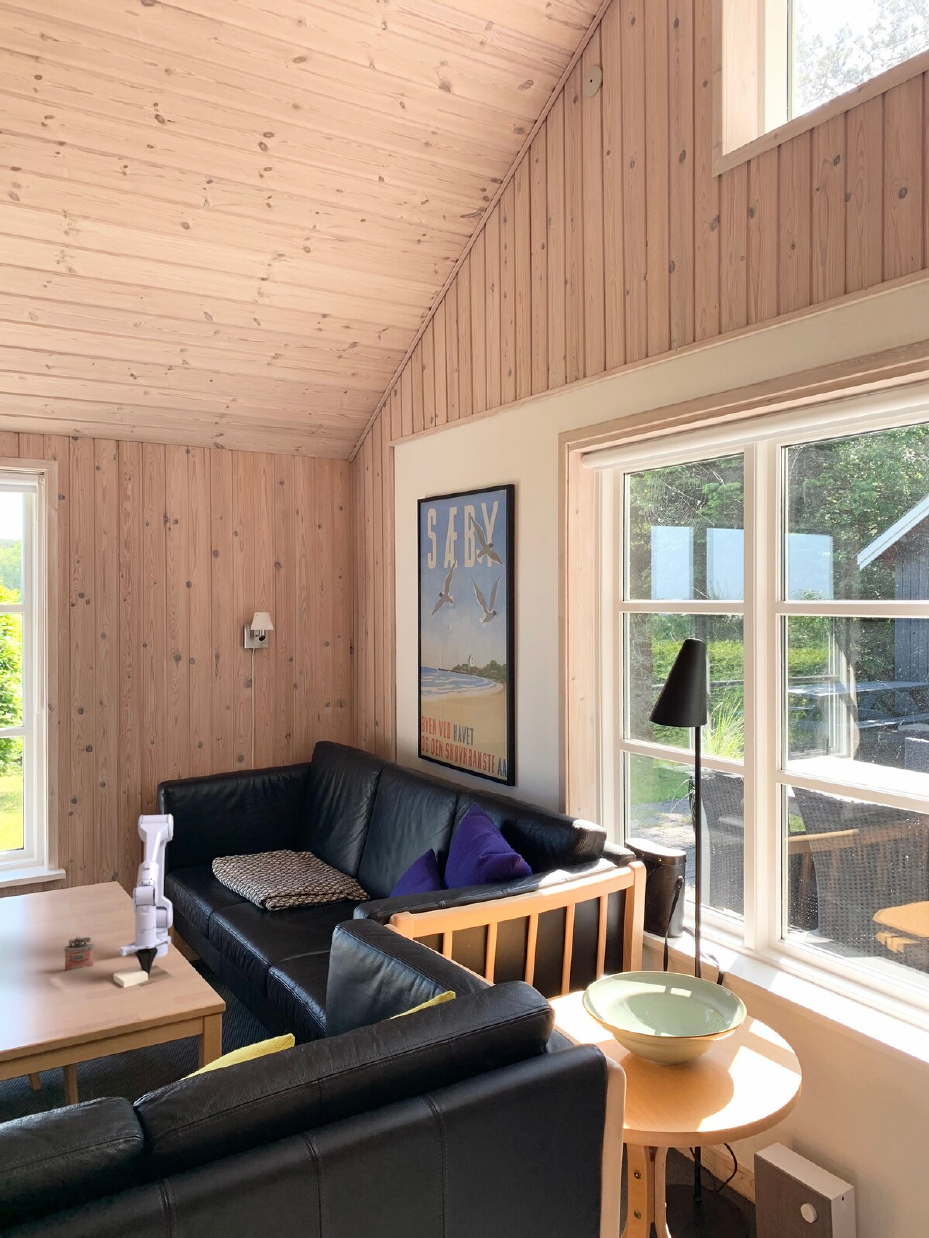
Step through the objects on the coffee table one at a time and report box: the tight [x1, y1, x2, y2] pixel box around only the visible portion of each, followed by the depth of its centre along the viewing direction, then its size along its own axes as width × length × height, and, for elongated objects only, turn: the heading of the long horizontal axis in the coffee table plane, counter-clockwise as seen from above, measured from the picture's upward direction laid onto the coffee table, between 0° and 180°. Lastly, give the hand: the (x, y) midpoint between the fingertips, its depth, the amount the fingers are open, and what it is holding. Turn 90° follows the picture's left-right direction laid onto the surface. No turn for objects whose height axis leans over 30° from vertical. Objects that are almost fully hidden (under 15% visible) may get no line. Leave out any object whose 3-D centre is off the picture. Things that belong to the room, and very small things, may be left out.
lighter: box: [63, 936, 94, 972], centre depth 276 cm, size 8×3×10 cm, turn 105°
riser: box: [137, 964, 175, 987], centre depth 269 cm, size 12×10×2 cm
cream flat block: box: [112, 966, 148, 988], centre depth 265 cm, size 7×7×2 cm
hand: (145, 973), depth 268 cm, fingers closed
